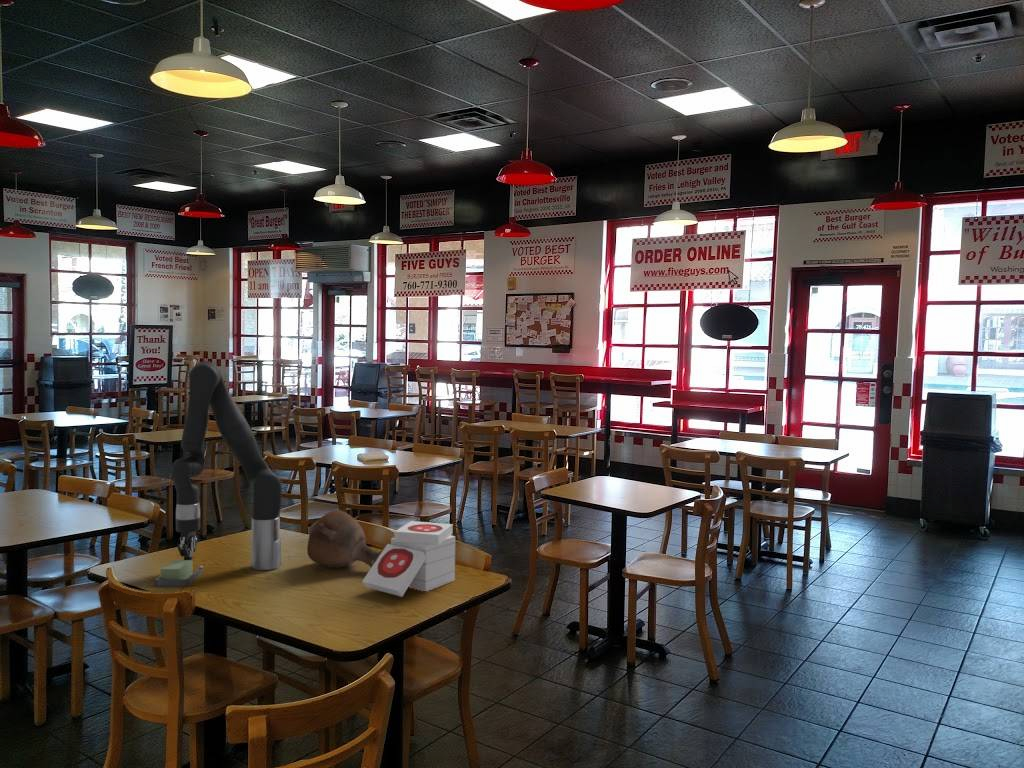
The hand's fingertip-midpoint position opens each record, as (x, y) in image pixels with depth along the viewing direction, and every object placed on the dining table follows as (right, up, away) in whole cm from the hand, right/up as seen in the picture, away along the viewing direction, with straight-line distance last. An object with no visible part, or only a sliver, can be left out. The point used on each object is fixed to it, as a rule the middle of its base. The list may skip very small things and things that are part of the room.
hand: (188, 567), depth 259 cm
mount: (+1, -2, -8) cm, 8 cm away
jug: (+52, -2, +8) cm, 53 cm away
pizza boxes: (+77, -4, -10) cm, 78 cm away
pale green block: (-1, -2, -7) cm, 8 cm away
